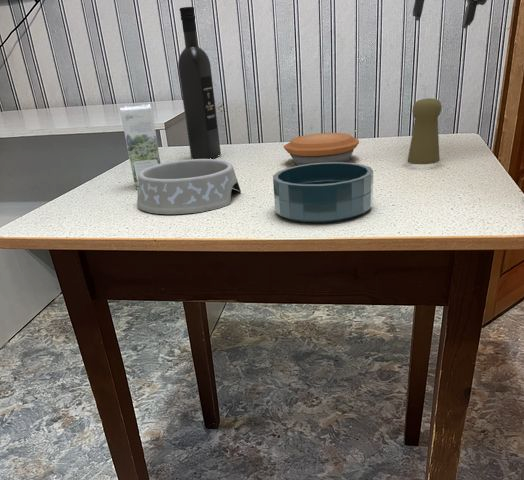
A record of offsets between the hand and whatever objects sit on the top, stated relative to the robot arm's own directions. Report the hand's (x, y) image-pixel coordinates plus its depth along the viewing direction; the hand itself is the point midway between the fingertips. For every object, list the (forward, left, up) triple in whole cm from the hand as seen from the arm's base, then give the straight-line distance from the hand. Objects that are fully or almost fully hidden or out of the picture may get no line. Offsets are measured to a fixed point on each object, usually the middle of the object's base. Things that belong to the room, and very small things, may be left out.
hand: (441, 22), depth 95 cm
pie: (+19, -11, -23) cm, 32 cm away
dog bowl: (+50, +3, -23) cm, 55 cm away
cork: (+3, +2, -23) cm, 23 cm away
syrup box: (+55, -13, -23) cm, 61 cm away
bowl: (+33, +22, -23) cm, 46 cm away
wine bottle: (+39, -33, -23) cm, 56 cm away
